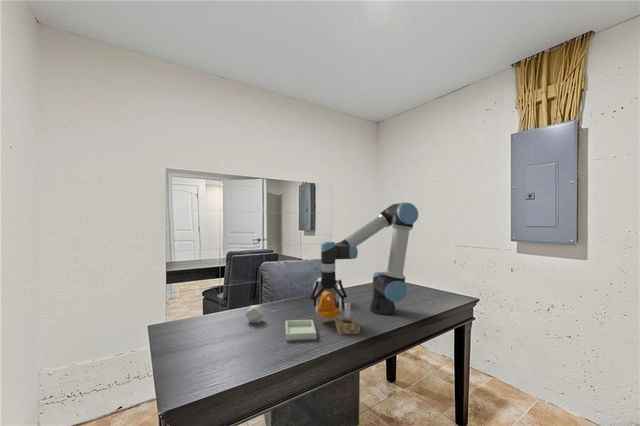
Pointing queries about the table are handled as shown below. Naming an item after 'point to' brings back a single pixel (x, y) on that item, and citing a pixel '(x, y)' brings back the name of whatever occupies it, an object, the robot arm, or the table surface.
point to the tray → (300, 330)
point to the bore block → (347, 326)
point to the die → (255, 314)
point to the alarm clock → (325, 290)
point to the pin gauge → (347, 312)
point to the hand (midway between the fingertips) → (328, 311)
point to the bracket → (327, 306)
